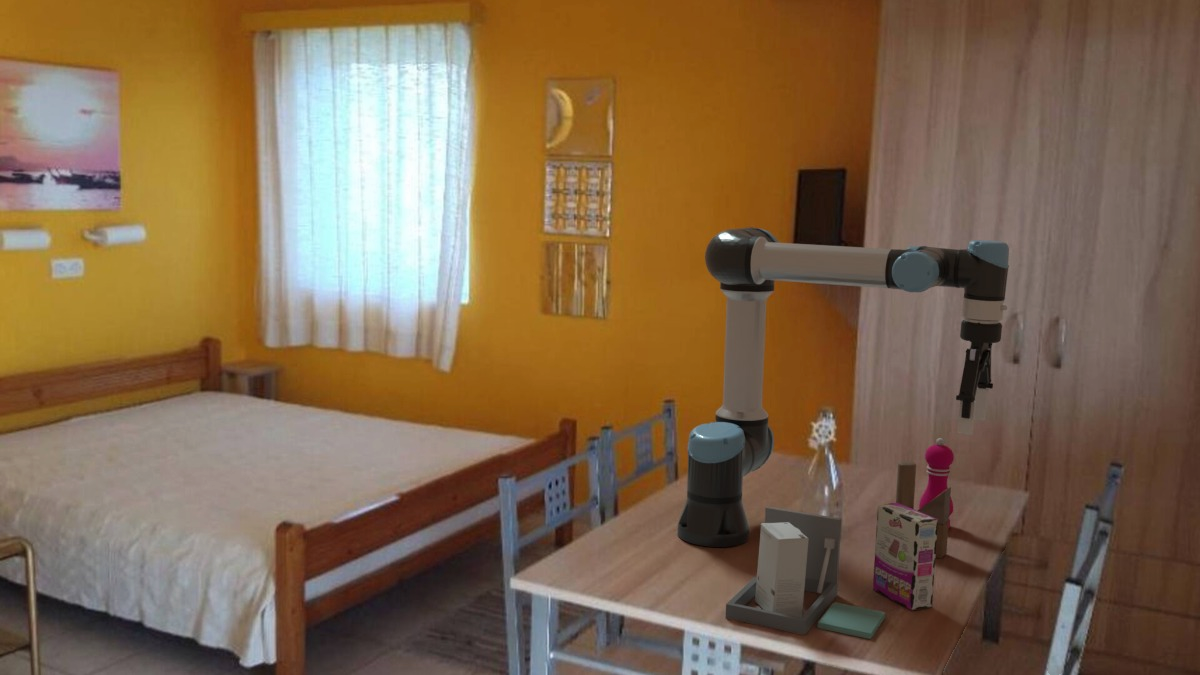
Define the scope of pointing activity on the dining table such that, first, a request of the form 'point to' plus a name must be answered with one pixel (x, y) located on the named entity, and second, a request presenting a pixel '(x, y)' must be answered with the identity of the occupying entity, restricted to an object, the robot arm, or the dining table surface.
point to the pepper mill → (937, 472)
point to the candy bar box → (905, 555)
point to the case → (817, 578)
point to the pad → (851, 620)
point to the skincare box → (781, 568)
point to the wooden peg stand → (934, 508)
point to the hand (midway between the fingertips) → (971, 426)
